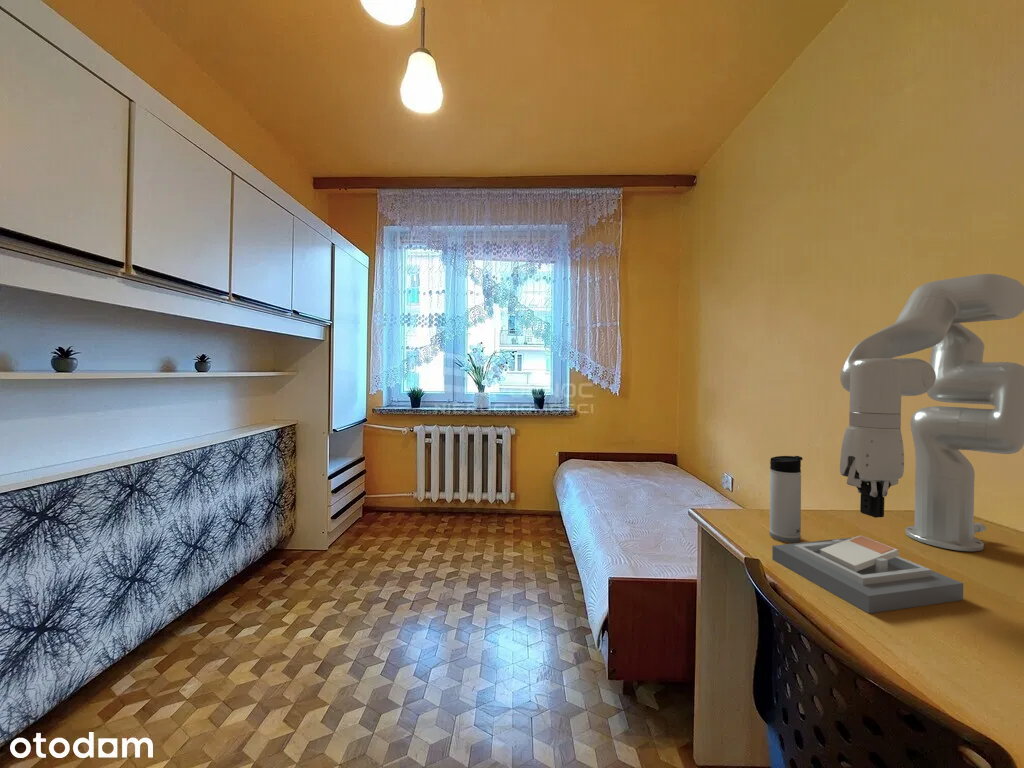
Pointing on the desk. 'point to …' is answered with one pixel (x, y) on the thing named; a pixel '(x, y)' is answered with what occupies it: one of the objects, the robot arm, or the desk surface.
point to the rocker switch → (858, 552)
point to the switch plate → (870, 578)
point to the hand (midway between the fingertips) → (871, 514)
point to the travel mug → (785, 498)
